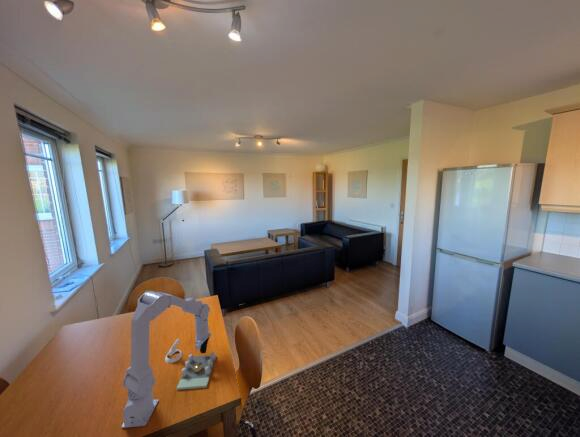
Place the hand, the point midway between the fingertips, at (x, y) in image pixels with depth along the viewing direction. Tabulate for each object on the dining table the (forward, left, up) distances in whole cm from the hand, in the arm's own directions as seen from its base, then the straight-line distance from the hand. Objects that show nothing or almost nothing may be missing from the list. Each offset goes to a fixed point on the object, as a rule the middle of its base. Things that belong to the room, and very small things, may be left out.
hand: (203, 352), depth 107 cm
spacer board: (-9, 0, -3) cm, 9 cm away
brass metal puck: (-9, 0, -2) cm, 9 cm away
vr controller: (+2, +15, -3) cm, 15 cm away
